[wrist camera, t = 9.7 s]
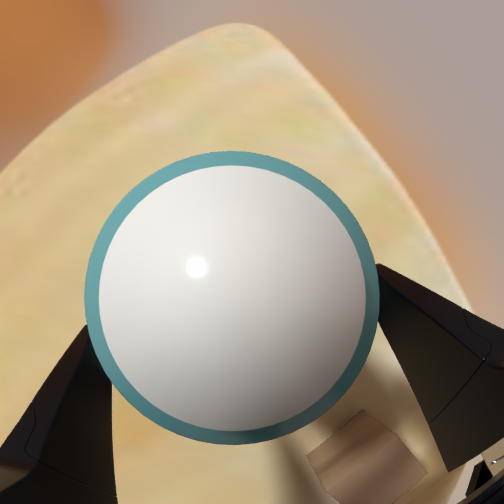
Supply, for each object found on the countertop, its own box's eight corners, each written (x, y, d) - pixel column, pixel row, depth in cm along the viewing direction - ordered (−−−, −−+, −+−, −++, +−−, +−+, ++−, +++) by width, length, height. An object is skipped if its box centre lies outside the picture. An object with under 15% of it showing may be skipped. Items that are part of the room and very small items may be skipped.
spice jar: (283, 348, 17) (396, 444, 4) (180, 350, 17) (78, 452, 4) (280, 247, 18) (384, 137, 5) (179, 248, 18) (78, 137, 5)
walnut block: (393, 446, 18) (427, 472, 13) (342, 488, 17) (366, 523, 12) (362, 409, 18) (396, 434, 13) (306, 454, 17) (326, 491, 12)
